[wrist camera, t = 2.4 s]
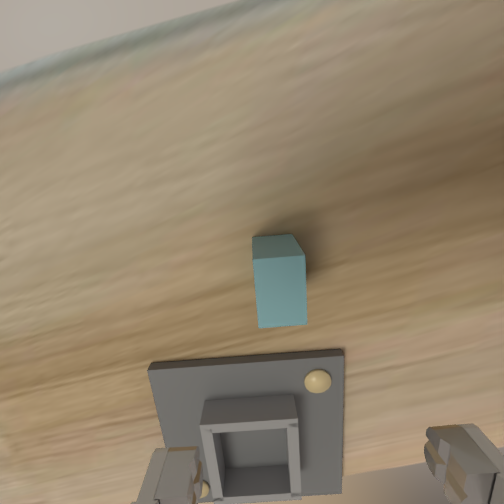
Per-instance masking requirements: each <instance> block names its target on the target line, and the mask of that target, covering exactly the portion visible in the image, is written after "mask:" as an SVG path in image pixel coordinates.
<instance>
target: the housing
mask: <svg viewBox="0 0 504 504" xmlns="http://www.w3.org/2000/svg"><path fill="white" fill-rule="evenodd" d="M147 371H148V376H149V380H150V384H151V388H152V392H153V397H154V401H155V405H156V409H157V413H158V417H159V422H160V426H161V430H162V434H163V438H164V443H165V447H166V448H169V447H190V446H199V450H200V457H199V460H200V461H201V462H202V466H203V487H202V495H201V497H200V498H199V500H198V501H197V503H202V502H214V504H239V503H256V502H270V501H287V500H301V499H302V498H301V496H312V495H327V494H341V493H342V445H343V389H344V355H343V353H342V351H341V349H334V350H320V351H307V352H293V353H280V354H266V355H253V356H240V357H226V358H213V359H199V360H186V361H172V362H159V363H151V364H150V366H149V368H148V370H147Z"/></svg>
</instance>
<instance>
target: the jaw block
mask: <svg viewBox="0 0 504 504" xmlns="http://www.w3.org/2000/svg"><path fill="white" fill-rule="evenodd" d="M252 251H253V269H254V280H255V291H256V303H257V314H258V326H259V328H268V327H281V326H294V325H307V297H306V260H305V254H304V252H303V251H302V249H301V247H300V246H299V244H298V243H297V241H296V239H295V238H294V236H293V235H292V234H285V235H273V236H261V237H252Z"/></svg>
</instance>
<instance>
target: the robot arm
mask: <svg viewBox="0 0 504 504" xmlns="http://www.w3.org/2000/svg"><path fill="white" fill-rule="evenodd" d="M426 436H427V438H428V439H429V441H428V442H427V443H426V444H425V446H424V454H425V458H426V462H427V464H428V466H429V469H430V470H431V472H432V474H433V476H434V477H435V478H436V479H437V480H439V481H440V482H442V483H443V484H444V493H445V495H446V497H447V498H448V500H449V502H450V503H451V504H504V455H503V454H502V453H501V452H500V451H499V450H498V449H497V448H496V446H495V445H494V444H493V443H492V442H491V441H490V440H489V439H488V438H487V437H486V435H485V434H484V433H483V432H482V431H481V430H480V429H479V428H478V427H477V426H476V425H474V424H461V425H456V424H455V425H445V426H435V427H429V428H428V429H427V430H426ZM199 457H200V450H199V446H190V447H169V448H156V449H155V451H154V452H153V454H152V457H151V460H150V463H149V466H148V469H147V472H146V475H145V478H144V481H143V484H142V487H141V490H140V493H139V496H138V498H137V501H136V502H132V503H131V504H198V503H197V501H198V500H199V498H200V497H201V495H202V487H203V466H202V462H201V461H200V460H199Z"/></svg>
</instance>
